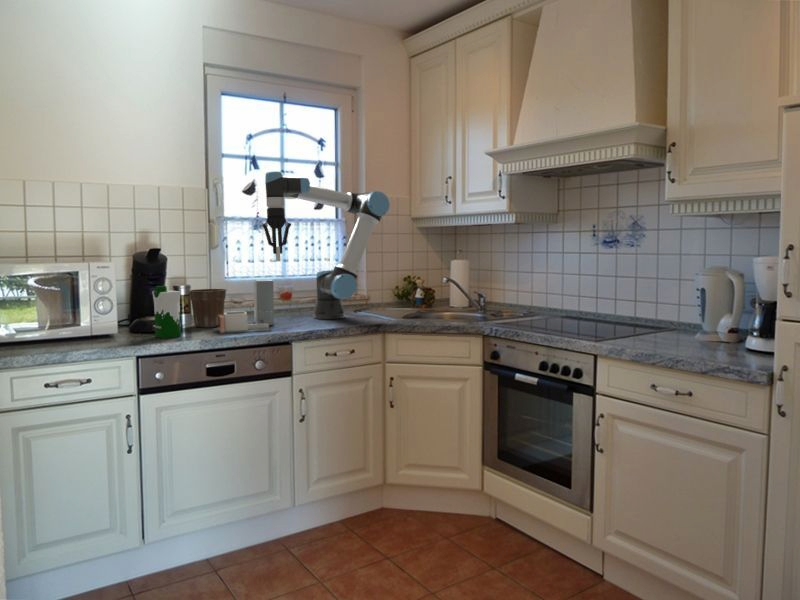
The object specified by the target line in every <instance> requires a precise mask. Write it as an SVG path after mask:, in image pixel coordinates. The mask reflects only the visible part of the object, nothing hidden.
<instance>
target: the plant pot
mask: <svg viewBox="0 0 800 600" xmlns="http://www.w3.org/2000/svg"><path fill="white" fill-rule="evenodd" d="M227 291H228V290H227V288H201V289H199V288H198V289H197V288H196V289H190V290H188V292H189V298H190V301H191V307H192V316H193V323H194V325H193V326H194V327H195V328H216V327H218V315H219V314H222V315H223V317H224V313H225V302H226V301H225V300H226V296H227V295H226V294H227Z"/></svg>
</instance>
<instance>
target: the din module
mask: <svg viewBox="0 0 800 600" xmlns="http://www.w3.org/2000/svg"><path fill="white" fill-rule="evenodd" d="M224 320H225V331H240V330H248V324H249V323H248V313H247V311H244V310H233V311H232V310H230V311H228V310H227V311H226V312H224Z"/></svg>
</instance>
